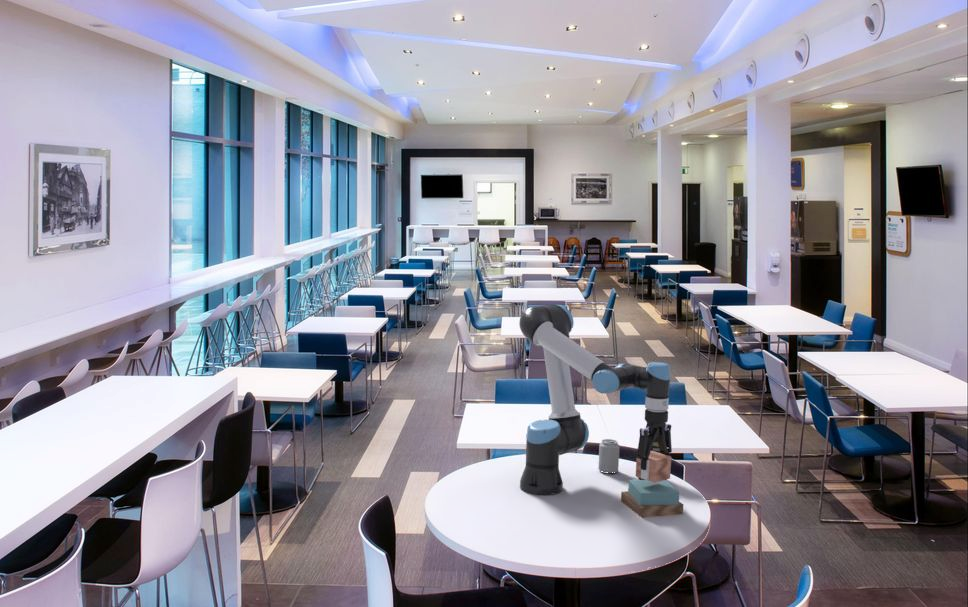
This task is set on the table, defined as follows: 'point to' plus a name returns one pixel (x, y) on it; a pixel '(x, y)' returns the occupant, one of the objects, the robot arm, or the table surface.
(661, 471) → the block
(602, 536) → the table surface
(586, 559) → the table surface
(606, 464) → the can
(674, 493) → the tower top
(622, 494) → the tower base
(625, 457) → the table surface
